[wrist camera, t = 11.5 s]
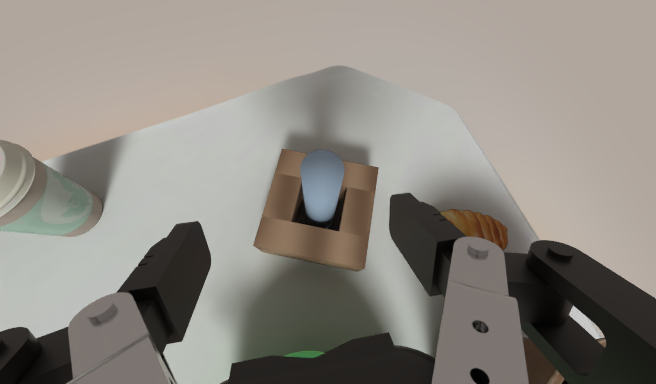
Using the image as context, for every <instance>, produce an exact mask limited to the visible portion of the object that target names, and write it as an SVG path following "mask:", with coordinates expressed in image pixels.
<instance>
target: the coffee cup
mask: <svg viewBox="0 0 656 384" xmlns="http://www.w3.org/2000/svg"><path fill="white" fill-rule="evenodd" d="M101 214H102V202H101V200H100V199H99V198H98V197H97V196H96V195H94V194H93V193H91V192H90V191H88V190H86V189H85V188H83V187H81V186H80V185H78V184H77V183H75V182H73V181H72V180H70V179H68V178H67V177H65V176H63V175H62V174H60V173H58V172H57V171H55V170H53V169H52V168H50V167H48V166H47V165H45V164H44V163H42V162H40V161H38V160H37V159H35V158H33V157H32V155H31V154H30V153H29V151H27V150H26V149H25V148H23V147H22V146H20V145H17V144H13V143H11V142H8V141H3V140H0V231H10V232H21V233H32V234H43V235H55V236H67V237H73V236H78V235H81V234H83V233H85V232H87V231H88V230H90V229H91V228H92V227H93V226H94V225H95V224H96V223H97V222H98V220H99V219H100V217H101Z"/></svg>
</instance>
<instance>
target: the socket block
mask: <svg viewBox="0 0 656 384" xmlns="http://www.w3.org/2000/svg"><path fill="white" fill-rule="evenodd" d="M307 155H308V154H306V153H301V152H296V151H291V150H286V149H282V151H281V154H280V158H279V161H278V164H277V168H276V171H275V174H274V178H273V181H272V184H271V188H270V191H269V194H268V198H267V201H266V205H265V208H264V211H263V215H262V218H261V221H260V225H259V228H258V231H257V235H256V238H255V241H254V245H253V246H255V247H256V248H258V249H259V250H260V251H262V252H265V253H270V254H275V255H280V256H285V257H290V258H294V259H299V260H304V261H309V262H314V263H319V264H323V265H328V266H333V267H338V268H343V269H348V270H352V271H357V272H358V271H360V270H362V269H364V268H365V262H366V255H367V248H368V240H369V233H370V226H371V219H372V211H373V204H374V197H375V190H376V182H377V175H378V167H373V166H368V165H363V164H358V163H353V162H348V161H342V162H343V164H344V168H345V172H344V177H343V181H342V185H341V189H340V194H339V198H338V200H342V201H343V204H342V210H341V215H340V221H339V226H338V231H334V230H329V229H324V228H319V227H314V226H309V225H305V224H300V223H297V220H298V216H299V212H300V208H301V204H302V200H303V196H304V195H303V188H302V180H301V173H300V167H301V163H302V161H303V159H304V158H305V157H306V156H307Z"/></svg>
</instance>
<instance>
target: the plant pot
mask: <svg viewBox="0 0 656 384" xmlns="http://www.w3.org/2000/svg"><path fill="white" fill-rule="evenodd" d="M522 339H523V346H524V353H525V360H526V367H527V374H528V382H529V384H568V382H567V381H566V380H565V379H564V378H563V377H562V375H561V374H560V373H559V372H558V371H557V370H556V368H555V367H554V366H553V365H552V364H551V363H550V361H549V360H548V359H547V358H546V357H545V356H544V355H543V353H542V352H541V351H540V350H539V349H538V348H537V346H536V345H535V344H534V343H533V342H532V341H531V339H530V338H524V337H522ZM596 340H597V341H598V342H599V343H600V344H601V345H602V346H604V347H606V339H605V338H600V339H596Z"/></svg>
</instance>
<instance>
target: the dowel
mask: <svg viewBox="0 0 656 384" xmlns="http://www.w3.org/2000/svg"><path fill="white" fill-rule="evenodd" d="M344 172H345V168H344V164H343V162H342V160H341V158H340V157H339V156H338V155H337V154H335V153H333V152H331V151H328V150H316V151H313V152H311V153H309V154H308V155H307V156H306V157H305V158H304V159H303V161H302V163H301V167H300V173H301V180H302V188H303V195H304V203H305V210H306V218H307V221H308V223H309V225H310V226H314V227H319V228H324V229H325V228H327V227H329V226H330V225H331V224H332V222H333V219H334V215H335V210H336V206H337V202H338V198H339V194H340V189H341V185H342V181H343V177H344Z"/></svg>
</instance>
